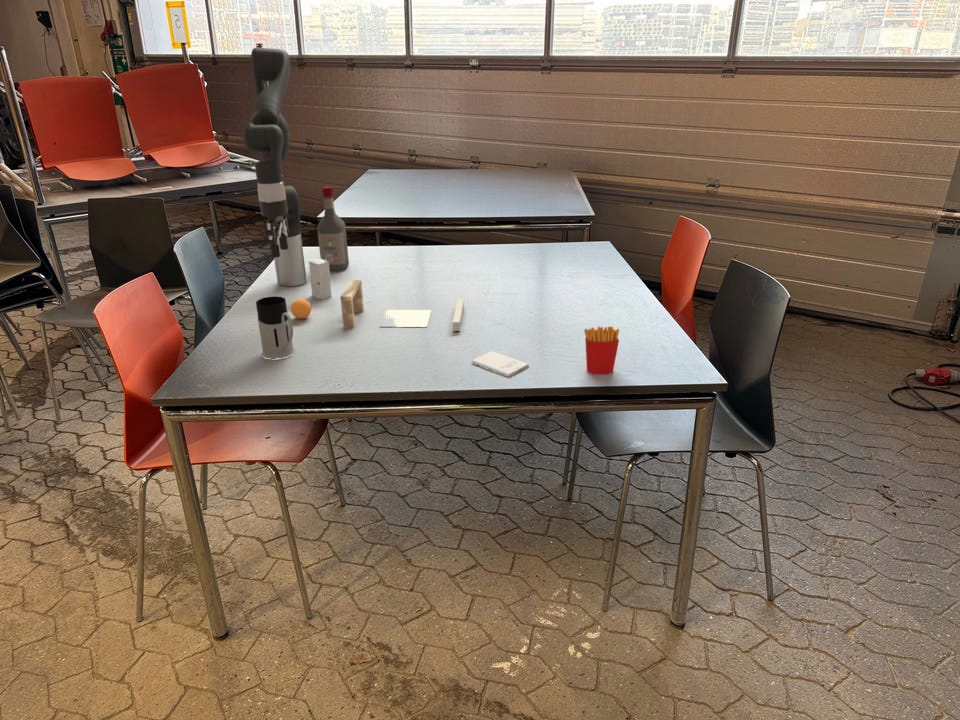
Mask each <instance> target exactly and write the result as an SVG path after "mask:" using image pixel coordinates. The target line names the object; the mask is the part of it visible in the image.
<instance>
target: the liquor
mask: <svg viewBox="0 0 960 720" xmlns="http://www.w3.org/2000/svg"><path fill="white" fill-rule="evenodd" d="M322 197H323V203H324V205H323V206H324V212H323V213H324V215H323V216H322V218H321V220H320V221H319V222H318V224H317V226H316V231H317V238H318V239H317V240H318V247H319V258H320V259H323V260H325V261H327V262H329V270H330V273H340V271H341V272H344V270H345V271H346V270H348V267H349V264H350V261H349V251H348V240H347V239H348V238H347V227H346V223H345V221H344V220H343V219H342V218H341V217H339V216H338V214H336V211H335V205H334V203H335V202H334V190H333V186H330V185H329V186H328V185H327V186H326V185H325V186H322Z"/></svg>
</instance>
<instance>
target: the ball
mask: <svg viewBox="0 0 960 720" xmlns="http://www.w3.org/2000/svg"><path fill="white" fill-rule="evenodd" d="M290 312H291V313H292V315H293V317H295V318H296V319H298V320H299V319H302V320H303V319H305V318H306V319H307V318H308V317H309V316H310V314H311V312H312V306H311V304H310V302H309V301H307V300H306V299H305V298H299V299H296V300H294V301H292V303H291V305H290Z"/></svg>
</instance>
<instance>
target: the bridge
mask: <svg viewBox="0 0 960 720" xmlns="http://www.w3.org/2000/svg"><path fill="white" fill-rule="evenodd" d="M339 297H340V305H341V315H342V324H343V325H342V327H343V328H344V327H354V328H355V326H356V321H355V320H356V319H355V313H363V312H364V310H365V307H364V295H363V284H362V280H361V279H357V280H355V279H352V280H350V282H349V283H348V285H347V286H346V288H345V289H344V290H343V292H342V294H340V296H339ZM354 325H355V326H354Z"/></svg>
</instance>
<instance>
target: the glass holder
mask: <svg viewBox="0 0 960 720" xmlns="http://www.w3.org/2000/svg"><path fill="white" fill-rule="evenodd" d="M255 305H256V312H257V323H258V328H259V335H260V341H261V347H262V353H261V356H262V355H263V356H264V357H266V358H271V359H276V358H283V357H287V356H289V355H291V354H293V353H294V351H295V352H296V349H295V348H294V345H293V337H294V327H293V325H294V324H293V320H292V317H291V315H290V314H289V313H288V307H287V301H286V298H285V297H283V296H279V295H278V296H277V295H276V296H266V297H265V296H264V297H262V298H260V299H257V300H256V302H255ZM294 349H295V350H294Z"/></svg>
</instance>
